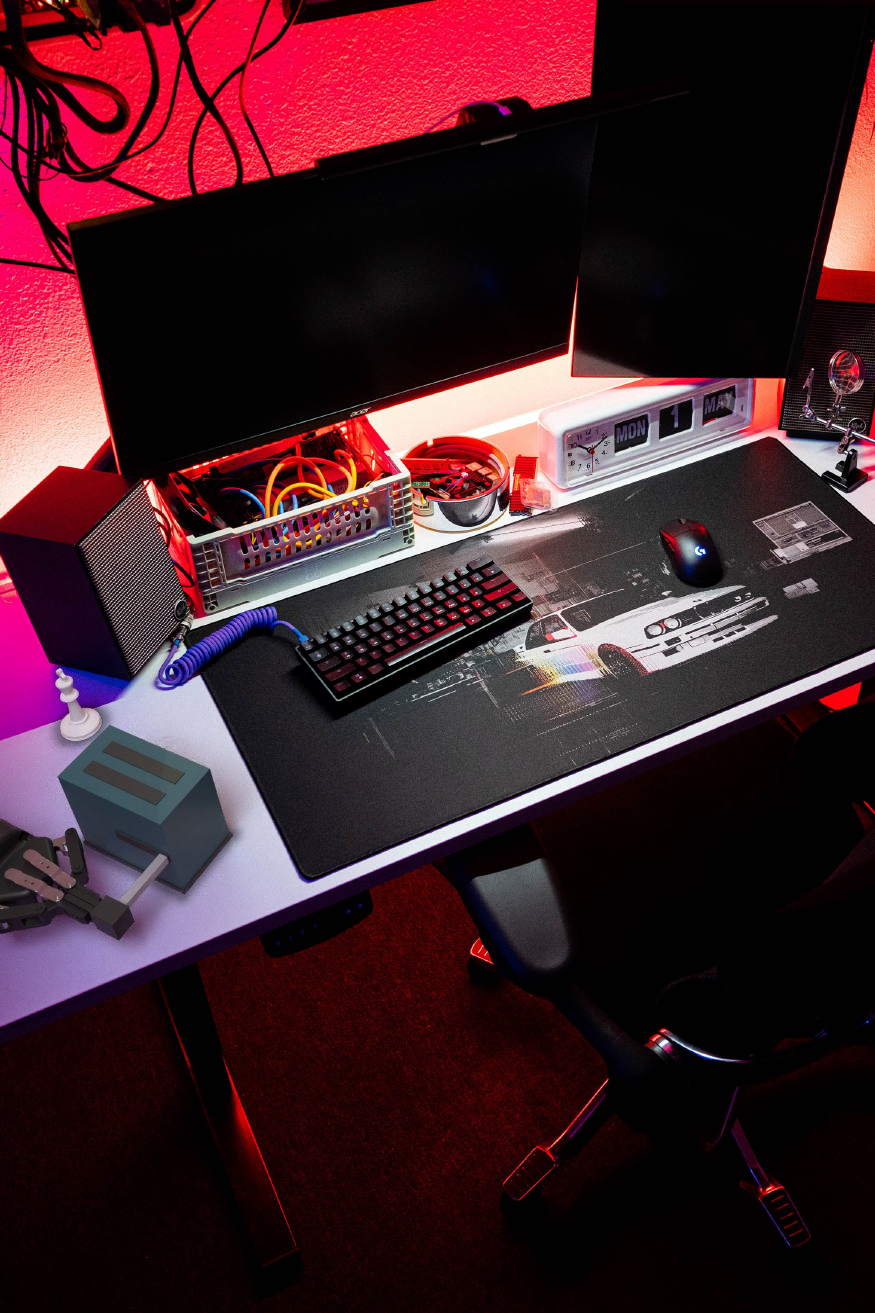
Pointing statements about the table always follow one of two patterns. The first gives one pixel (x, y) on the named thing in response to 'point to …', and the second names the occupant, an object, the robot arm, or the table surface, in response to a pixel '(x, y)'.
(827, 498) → the table surface
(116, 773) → the toaster
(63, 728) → the chess piece
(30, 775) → the table surface
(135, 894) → the slider
